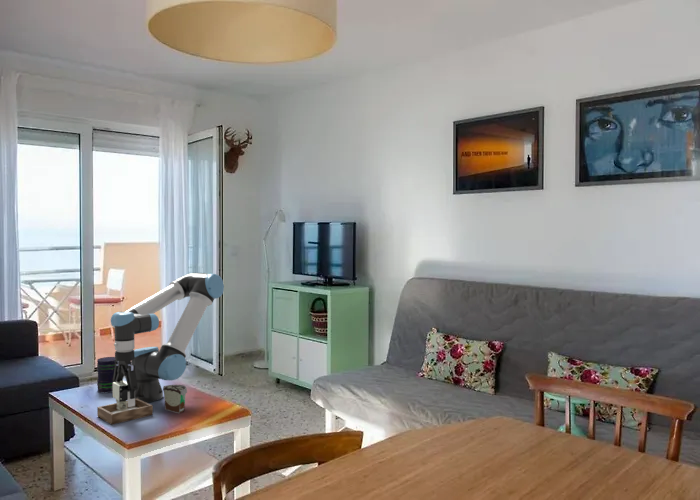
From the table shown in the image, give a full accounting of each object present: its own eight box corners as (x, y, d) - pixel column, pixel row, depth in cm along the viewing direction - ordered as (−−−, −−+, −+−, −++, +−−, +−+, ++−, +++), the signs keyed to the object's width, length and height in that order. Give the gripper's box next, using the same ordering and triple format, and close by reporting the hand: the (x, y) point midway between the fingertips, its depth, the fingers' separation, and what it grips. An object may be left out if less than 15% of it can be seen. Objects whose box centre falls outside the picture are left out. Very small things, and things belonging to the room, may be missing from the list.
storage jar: (115, 385, 280) (115, 355, 280) (122, 390, 273) (122, 359, 272) (94, 389, 274) (94, 358, 273) (100, 393, 266) (100, 362, 266)
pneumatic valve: (121, 414, 228) (120, 384, 228) (111, 407, 237) (111, 378, 236) (135, 411, 232) (134, 382, 231) (124, 404, 241) (124, 376, 240)
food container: (193, 410, 242) (193, 387, 242) (181, 414, 237) (181, 390, 236) (174, 405, 249) (174, 382, 248) (162, 409, 244) (162, 385, 243)
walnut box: (137, 407, 245) (137, 398, 245) (152, 414, 236) (152, 405, 235) (97, 416, 233) (97, 407, 233) (111, 424, 223) (111, 414, 223)
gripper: (103, 347, 239) (104, 399, 240) (128, 355, 223) (128, 411, 223) (121, 345, 244) (122, 395, 245) (146, 353, 228) (146, 407, 229)
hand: (125, 403), depth 234 cm, fingers closed on pneumatic valve, 11 cm apart
